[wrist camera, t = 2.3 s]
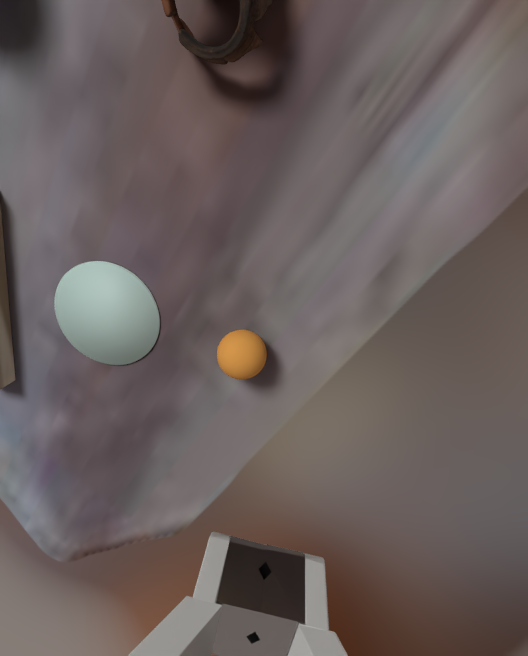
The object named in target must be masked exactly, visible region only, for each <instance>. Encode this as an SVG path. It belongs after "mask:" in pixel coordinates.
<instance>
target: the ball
mask: <svg viewBox="0 0 528 656" xmlns="http://www.w3.org/2000/svg"><path fill="white" fill-rule="evenodd" d="M266 358H267V351H266V347H265V344H264V342H263V341H262V339H261V338H260V337H259V336H258V335H257V334H255V333H254V332H251V331H249V330H235V331H232V332H230V333H229V334H227V335H226V336H225V337H224V338H223V339H222V340H221V342H220V344H219V346H218V350H217V359H218V363H219V366H220V367H221V369H222V370H223V371H224V372H225V373H226V374H227V375H228V376H230V377H232V378H235V379H249V378H251V377H253V376H255V375H257V374H258V373H259V372H260V371H261V370H262V368H263V367H264V365H265V362H266Z"/></svg>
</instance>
